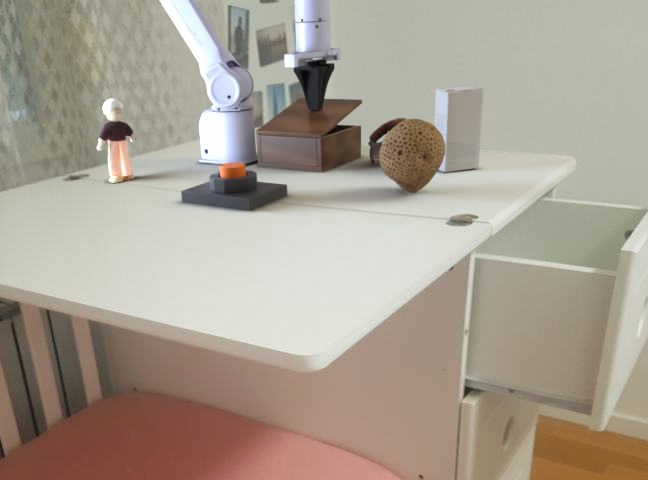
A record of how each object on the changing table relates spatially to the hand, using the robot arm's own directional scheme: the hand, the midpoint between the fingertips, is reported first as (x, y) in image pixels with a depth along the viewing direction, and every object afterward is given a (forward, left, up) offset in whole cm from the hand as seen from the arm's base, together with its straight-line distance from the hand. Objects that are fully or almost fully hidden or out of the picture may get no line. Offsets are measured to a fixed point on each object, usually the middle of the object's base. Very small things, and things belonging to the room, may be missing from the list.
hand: (315, 109), depth 121 cm
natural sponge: (+25, -16, -9) cm, 31 cm away
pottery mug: (+15, +2, -9) cm, 17 cm away
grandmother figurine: (-22, -25, -9) cm, 34 cm away
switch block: (+4, -29, -8) cm, 30 cm away
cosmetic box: (+25, +1, -9) cm, 26 cm away
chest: (0, -2, -8) cm, 9 cm away
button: (+4, -29, -5) cm, 30 cm away
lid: (0, -2, -1) cm, 2 cm away
